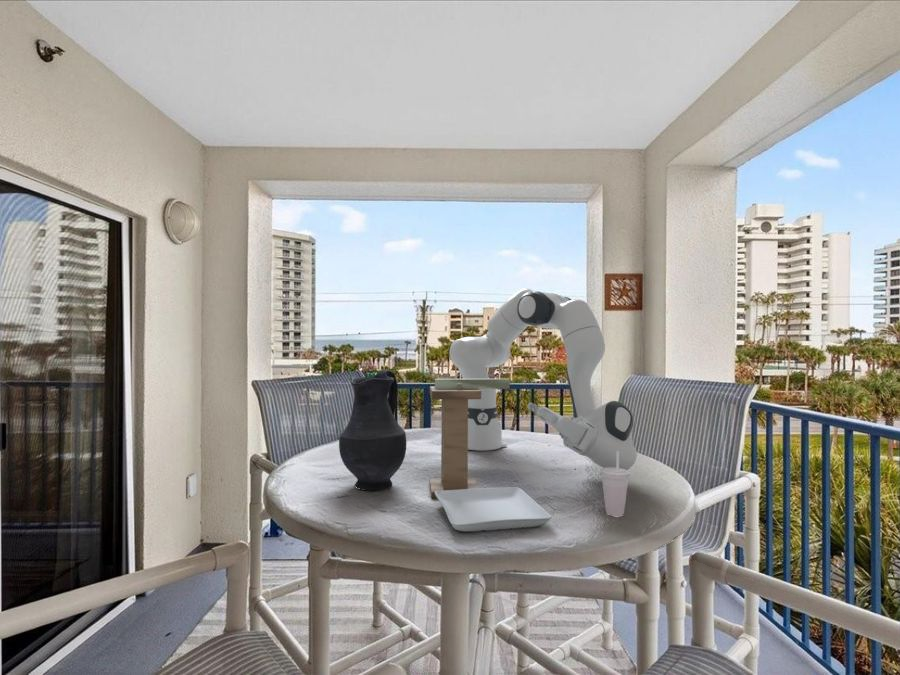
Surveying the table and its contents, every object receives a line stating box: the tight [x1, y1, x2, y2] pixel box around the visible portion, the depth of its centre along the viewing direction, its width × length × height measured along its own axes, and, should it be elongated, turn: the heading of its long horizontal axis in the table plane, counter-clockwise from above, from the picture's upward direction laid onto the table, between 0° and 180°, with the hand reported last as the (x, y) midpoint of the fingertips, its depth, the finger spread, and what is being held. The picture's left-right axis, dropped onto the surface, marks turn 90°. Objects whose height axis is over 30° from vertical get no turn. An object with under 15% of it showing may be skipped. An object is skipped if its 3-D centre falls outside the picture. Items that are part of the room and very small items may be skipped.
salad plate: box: [435, 486, 552, 532], centre depth 113 cm, size 21×21×3 cm
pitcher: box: [338, 369, 407, 491], centre depth 136 cm, size 17×21×30 cm
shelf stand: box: [428, 383, 481, 499], centre depth 131 cm, size 12×12×28 cm
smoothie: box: [599, 451, 631, 516], centre depth 114 cm, size 6×6×14 cm
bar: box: [434, 378, 511, 390], centre depth 131 cm, size 2×19×2 cm, turn 95°
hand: (533, 407), depth 133 cm, fingers open, 8 cm apart
